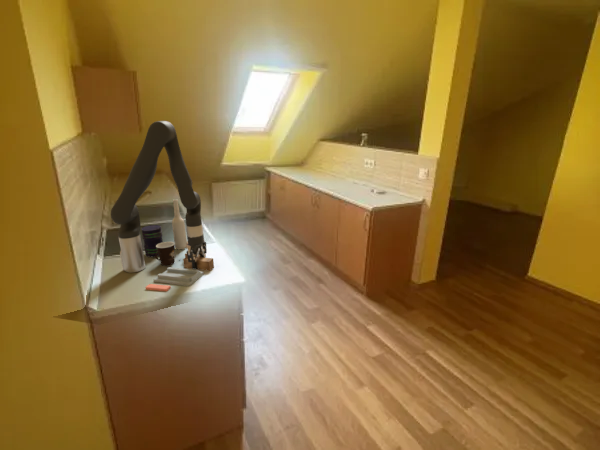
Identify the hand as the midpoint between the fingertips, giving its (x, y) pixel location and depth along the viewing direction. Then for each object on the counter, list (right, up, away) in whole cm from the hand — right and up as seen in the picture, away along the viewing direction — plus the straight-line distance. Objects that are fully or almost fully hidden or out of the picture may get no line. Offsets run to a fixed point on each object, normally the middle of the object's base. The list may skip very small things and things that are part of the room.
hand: (198, 265), depth 161 cm
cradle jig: (-6, -4, -10) cm, 12 cm away
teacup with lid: (-6, +3, +13) cm, 15 cm away
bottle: (-18, +7, +26) cm, 33 cm away
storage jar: (-29, +4, +18) cm, 35 cm away
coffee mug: (-18, 0, +5) cm, 19 cm away
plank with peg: (0, -1, 0) cm, 1 cm away
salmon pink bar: (-11, -8, -19) cm, 24 cm away
